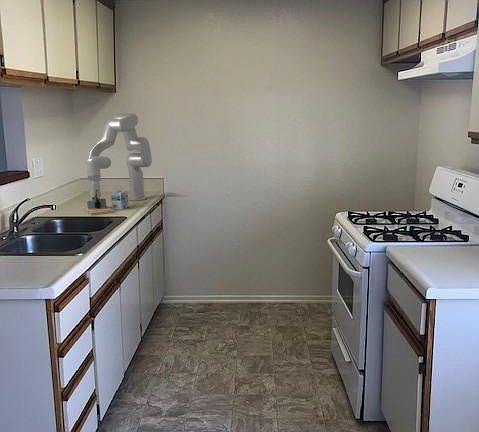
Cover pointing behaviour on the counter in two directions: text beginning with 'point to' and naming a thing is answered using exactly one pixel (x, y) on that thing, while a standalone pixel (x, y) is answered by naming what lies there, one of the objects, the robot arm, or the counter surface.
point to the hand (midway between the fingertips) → (96, 207)
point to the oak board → (99, 211)
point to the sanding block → (92, 203)
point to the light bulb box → (119, 200)
